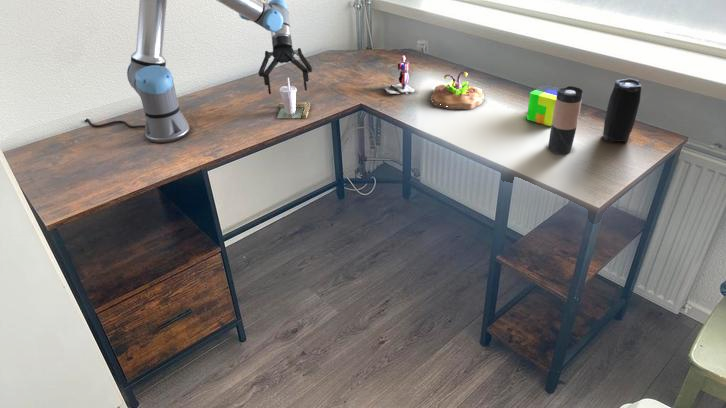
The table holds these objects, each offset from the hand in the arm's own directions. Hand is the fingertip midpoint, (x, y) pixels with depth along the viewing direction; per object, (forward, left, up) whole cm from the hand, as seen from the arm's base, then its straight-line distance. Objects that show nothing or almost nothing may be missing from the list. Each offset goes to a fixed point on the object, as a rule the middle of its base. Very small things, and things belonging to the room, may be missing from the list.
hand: (287, 91), depth 208 cm
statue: (+42, +16, -8) cm, 46 cm away
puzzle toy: (+95, -11, -8) cm, 96 cm away
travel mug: (+94, -34, -8) cm, 100 cm away
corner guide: (+2, -3, -7) cm, 8 cm away
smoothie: (+1, -4, -7) cm, 8 cm away
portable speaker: (+114, -27, -8) cm, 117 cm away
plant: (+65, +7, -8) cm, 66 cm away
